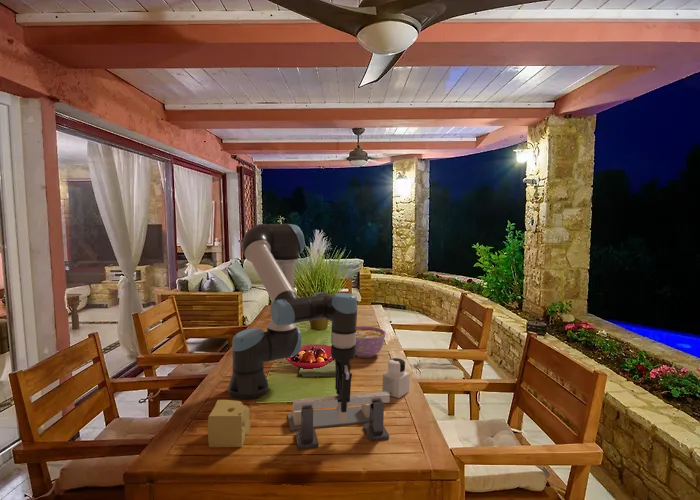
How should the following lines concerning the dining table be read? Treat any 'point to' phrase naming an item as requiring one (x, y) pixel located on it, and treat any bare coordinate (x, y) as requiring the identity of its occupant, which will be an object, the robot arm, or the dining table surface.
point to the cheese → (228, 424)
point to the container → (396, 378)
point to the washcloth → (319, 371)
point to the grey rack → (373, 428)
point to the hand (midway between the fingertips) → (341, 417)
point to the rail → (332, 402)
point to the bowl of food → (369, 341)
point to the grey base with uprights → (331, 417)
